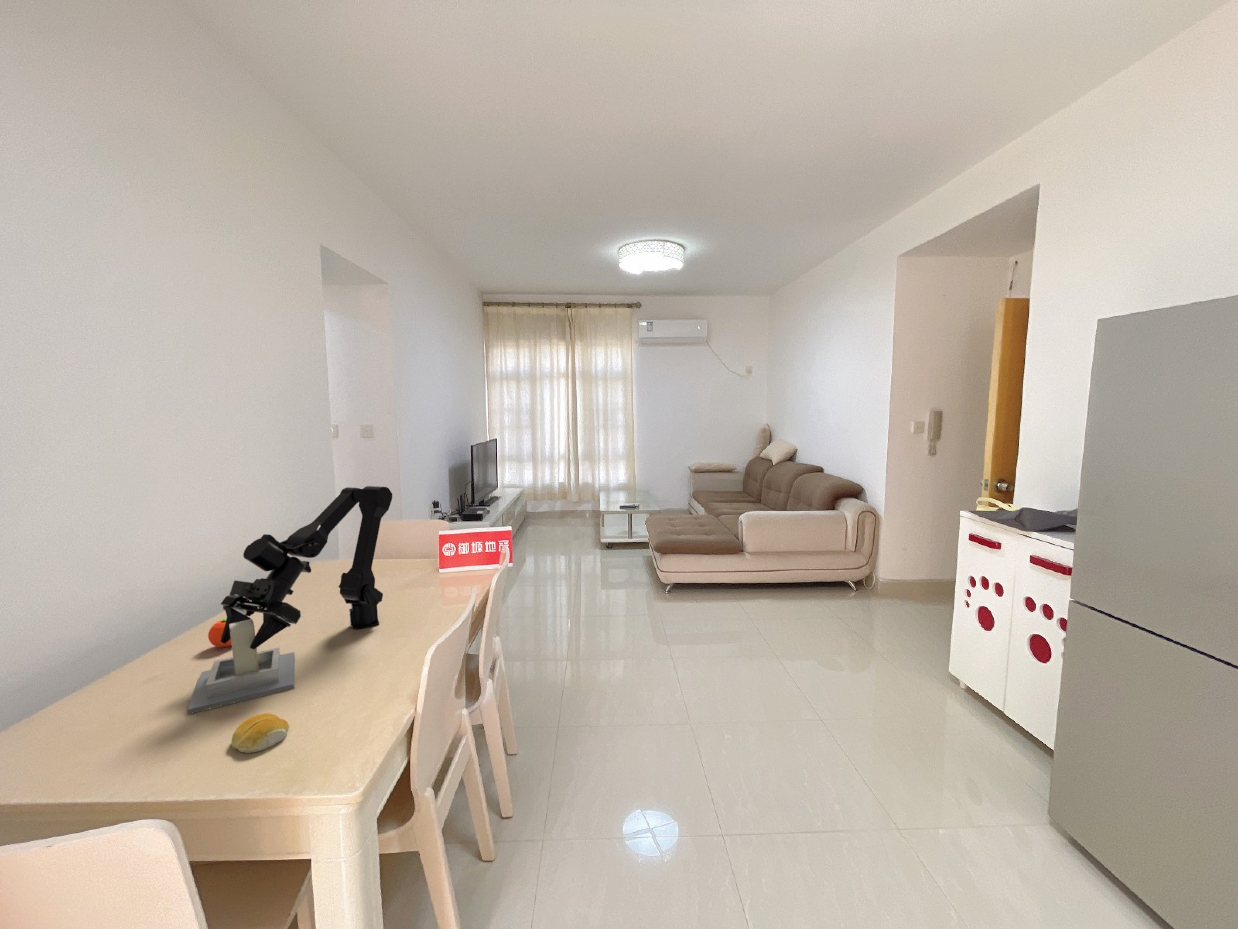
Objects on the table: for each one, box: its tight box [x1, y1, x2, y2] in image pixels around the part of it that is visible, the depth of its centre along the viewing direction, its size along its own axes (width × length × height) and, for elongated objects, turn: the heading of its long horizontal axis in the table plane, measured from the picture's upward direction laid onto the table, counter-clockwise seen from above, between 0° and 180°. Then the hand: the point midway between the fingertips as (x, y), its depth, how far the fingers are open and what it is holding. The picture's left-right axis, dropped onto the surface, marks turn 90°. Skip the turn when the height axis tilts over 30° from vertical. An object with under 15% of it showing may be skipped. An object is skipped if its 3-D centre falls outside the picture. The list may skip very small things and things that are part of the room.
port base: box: [187, 651, 296, 715], centre depth 116 cm, size 18×18×1 cm
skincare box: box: [229, 618, 259, 676], centre depth 115 cm, size 6×4×12 cm
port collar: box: [206, 647, 281, 699], centre depth 116 cm, size 12×12×3 cm
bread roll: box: [230, 712, 290, 754], centre depth 95 cm, size 8×9×4 cm
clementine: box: [207, 617, 232, 648], centre depth 135 cm, size 8×7×7 cm
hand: (236, 645), depth 114 cm, fingers open, 9 cm apart
